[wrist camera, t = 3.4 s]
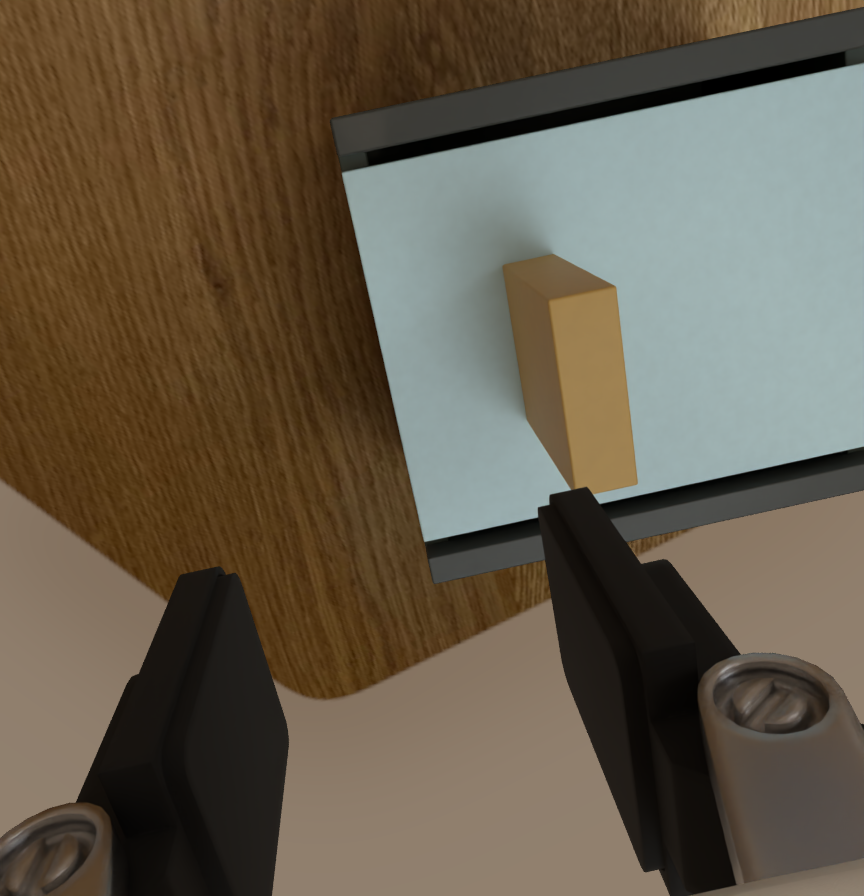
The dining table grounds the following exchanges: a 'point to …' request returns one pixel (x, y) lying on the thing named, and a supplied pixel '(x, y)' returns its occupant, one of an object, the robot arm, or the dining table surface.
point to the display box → (586, 99)
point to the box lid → (622, 299)
